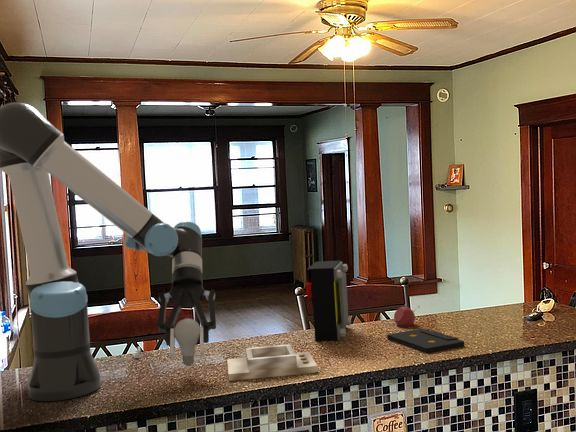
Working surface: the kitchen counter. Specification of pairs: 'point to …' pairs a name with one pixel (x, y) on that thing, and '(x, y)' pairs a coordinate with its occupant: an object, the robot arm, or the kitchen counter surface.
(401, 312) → the fruit
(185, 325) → the lightbulb
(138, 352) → the power adapter
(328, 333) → the electrical component
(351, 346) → the kitchen counter surface
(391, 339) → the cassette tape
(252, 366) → the desk organizer
